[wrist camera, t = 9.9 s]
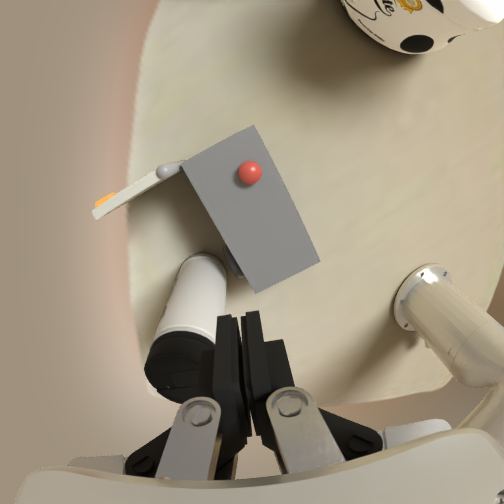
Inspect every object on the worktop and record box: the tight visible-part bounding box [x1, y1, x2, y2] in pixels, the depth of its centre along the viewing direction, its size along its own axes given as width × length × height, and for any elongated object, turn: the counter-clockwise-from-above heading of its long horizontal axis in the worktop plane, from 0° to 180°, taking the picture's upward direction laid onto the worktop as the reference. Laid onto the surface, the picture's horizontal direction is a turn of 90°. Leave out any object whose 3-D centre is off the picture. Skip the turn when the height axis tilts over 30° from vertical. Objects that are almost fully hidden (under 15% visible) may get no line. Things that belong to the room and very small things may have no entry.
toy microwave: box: [181, 125, 320, 294], centre depth 31 cm, size 16×9×7 cm, turn 27°
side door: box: [91, 160, 186, 220], centre depth 27 cm, size 9×2×10 cm, turn 116°
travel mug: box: [144, 253, 227, 404], centre depth 28 cm, size 6×7×20 cm
